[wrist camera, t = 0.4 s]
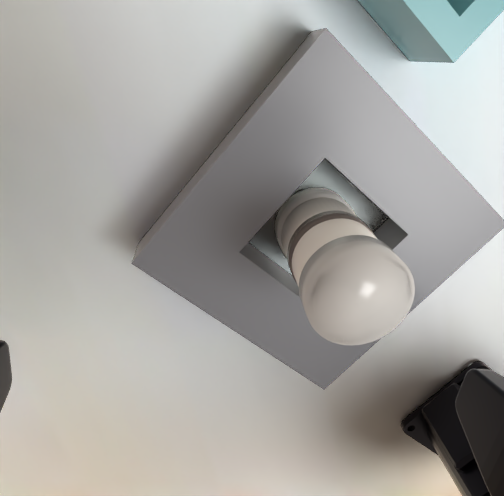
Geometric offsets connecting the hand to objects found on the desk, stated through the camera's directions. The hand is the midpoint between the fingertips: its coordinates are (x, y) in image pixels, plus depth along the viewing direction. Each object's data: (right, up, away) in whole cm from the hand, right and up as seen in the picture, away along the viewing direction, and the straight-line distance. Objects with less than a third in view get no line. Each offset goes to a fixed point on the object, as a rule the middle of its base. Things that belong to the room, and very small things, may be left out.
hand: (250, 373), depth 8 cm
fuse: (+3, +4, +12) cm, 13 cm away
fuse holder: (+3, +4, +12) cm, 13 cm away
